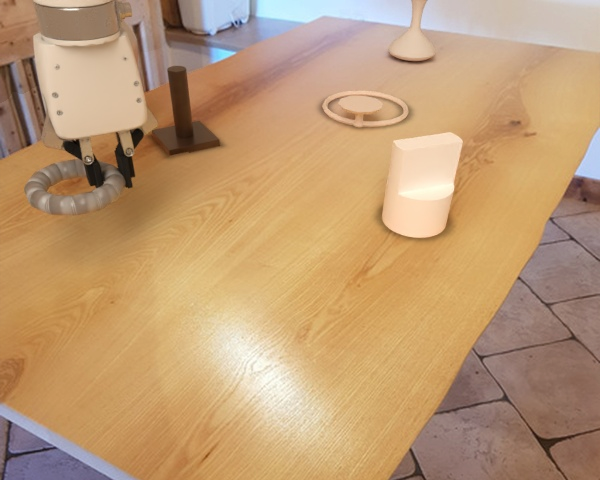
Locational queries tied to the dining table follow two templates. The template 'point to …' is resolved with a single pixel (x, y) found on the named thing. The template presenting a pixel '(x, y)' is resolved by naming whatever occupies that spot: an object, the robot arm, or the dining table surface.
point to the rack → (183, 120)
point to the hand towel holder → (363, 107)
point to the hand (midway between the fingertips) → (113, 185)
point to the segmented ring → (73, 203)
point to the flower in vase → (413, 38)
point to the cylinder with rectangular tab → (421, 184)
